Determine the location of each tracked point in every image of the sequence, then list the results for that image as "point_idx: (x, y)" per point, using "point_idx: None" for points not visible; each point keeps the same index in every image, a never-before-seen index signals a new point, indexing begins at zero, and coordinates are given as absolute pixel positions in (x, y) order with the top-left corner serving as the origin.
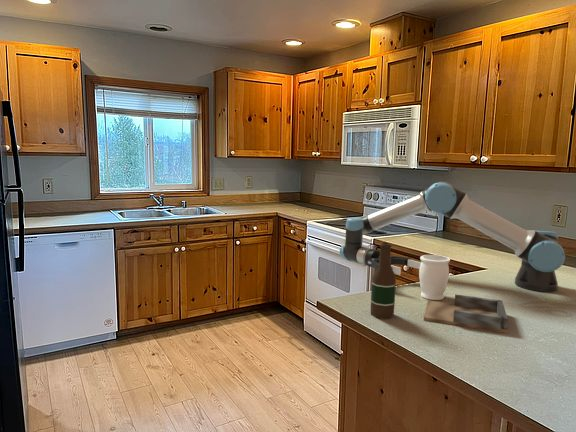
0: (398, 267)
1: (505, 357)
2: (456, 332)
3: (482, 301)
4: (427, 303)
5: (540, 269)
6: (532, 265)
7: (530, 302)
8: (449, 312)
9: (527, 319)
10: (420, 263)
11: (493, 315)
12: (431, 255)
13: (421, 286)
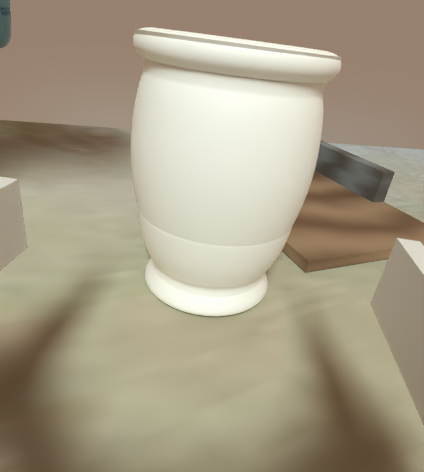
0: (421, 252)
1: (396, 168)
2: (407, 203)
3: None
4: (342, 255)
5: (9, 40)
6: (7, 29)
7: (48, 145)
8: (338, 211)
9: None
10: (11, 191)
11: (322, 143)
12: (153, 38)
13: (277, 254)
